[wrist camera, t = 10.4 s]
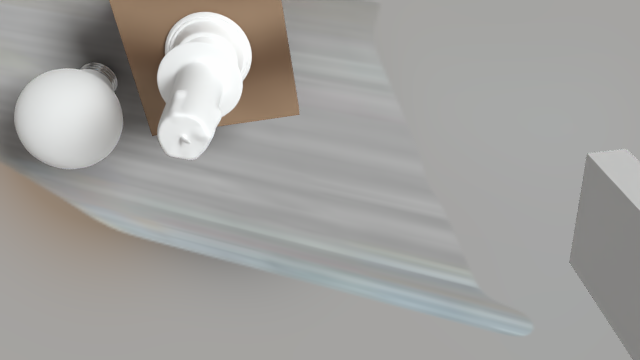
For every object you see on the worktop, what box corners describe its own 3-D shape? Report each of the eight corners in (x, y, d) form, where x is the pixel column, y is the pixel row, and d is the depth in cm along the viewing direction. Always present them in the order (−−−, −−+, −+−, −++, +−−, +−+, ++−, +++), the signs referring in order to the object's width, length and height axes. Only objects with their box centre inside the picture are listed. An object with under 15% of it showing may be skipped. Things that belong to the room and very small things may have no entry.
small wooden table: (133, -43, 41) (104, -16, 34) (275, -64, 41) (273, -41, 34) (171, 89, 46) (152, 135, 39) (296, 71, 46) (299, 114, 39)
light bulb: (152, 112, 47) (120, 185, 38) (68, 117, 47) (16, 191, 38) (135, 31, 44) (95, 89, 34) (45, 36, 43) (-20, 95, 34)
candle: (245, 7, 35) (230, 82, 25) (257, 89, 38) (248, 187, 28) (156, 15, 35) (105, 94, 25) (175, 97, 38) (136, 198, 28)
